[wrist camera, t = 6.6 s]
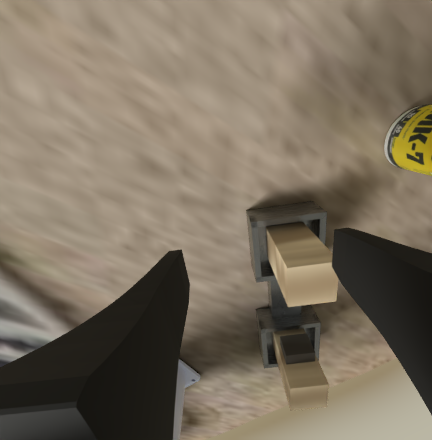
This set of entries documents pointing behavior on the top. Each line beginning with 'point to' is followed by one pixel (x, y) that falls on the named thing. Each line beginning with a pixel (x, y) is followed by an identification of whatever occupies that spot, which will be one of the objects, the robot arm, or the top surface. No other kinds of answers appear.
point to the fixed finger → (300, 370)
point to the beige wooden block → (301, 265)
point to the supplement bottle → (411, 140)
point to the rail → (278, 310)
